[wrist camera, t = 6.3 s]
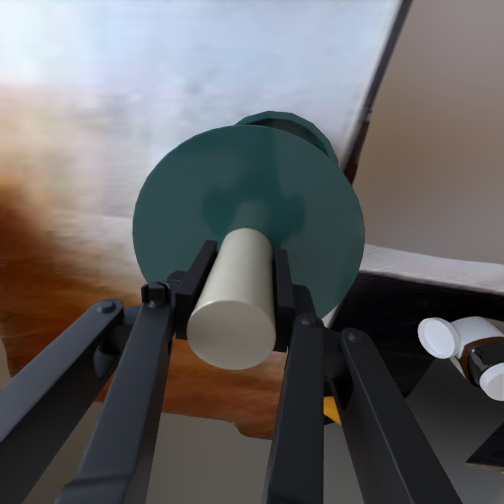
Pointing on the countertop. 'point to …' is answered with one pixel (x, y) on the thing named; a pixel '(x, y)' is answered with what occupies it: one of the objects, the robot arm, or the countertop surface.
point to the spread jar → (468, 349)
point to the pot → (292, 128)
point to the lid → (248, 232)
